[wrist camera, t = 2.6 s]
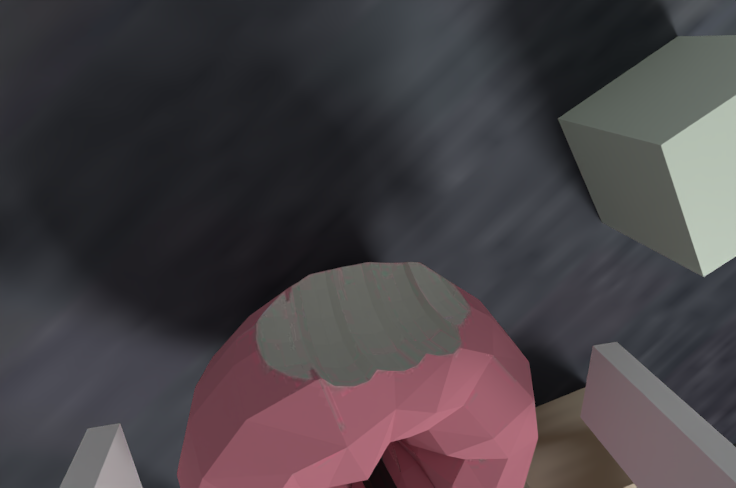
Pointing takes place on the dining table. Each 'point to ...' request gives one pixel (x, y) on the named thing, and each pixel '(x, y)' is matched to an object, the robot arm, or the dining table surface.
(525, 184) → the dining table surface
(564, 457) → the beech cube
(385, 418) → the apple
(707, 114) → the sage cube
